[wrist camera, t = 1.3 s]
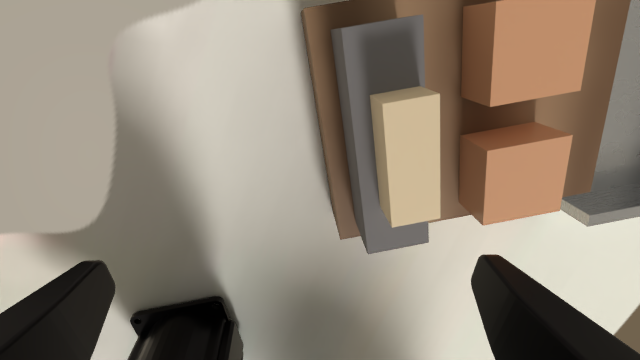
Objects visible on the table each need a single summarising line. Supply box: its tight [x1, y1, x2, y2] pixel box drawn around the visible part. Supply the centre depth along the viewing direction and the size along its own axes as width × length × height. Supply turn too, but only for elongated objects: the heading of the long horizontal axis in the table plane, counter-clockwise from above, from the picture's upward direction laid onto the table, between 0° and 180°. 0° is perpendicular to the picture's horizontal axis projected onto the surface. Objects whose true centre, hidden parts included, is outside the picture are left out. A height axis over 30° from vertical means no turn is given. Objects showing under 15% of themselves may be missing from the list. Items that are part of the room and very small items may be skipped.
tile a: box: [459, 122, 573, 225], centre depth 17 cm, size 4×4×2 cm
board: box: [301, 0, 631, 240], centre depth 18 cm, size 15×12×3 cm
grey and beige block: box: [331, 14, 440, 254], centre depth 14 cm, size 3×10×5 cm, turn 9°
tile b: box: [461, 0, 596, 107], centre depth 14 cm, size 4×4×2 cm
